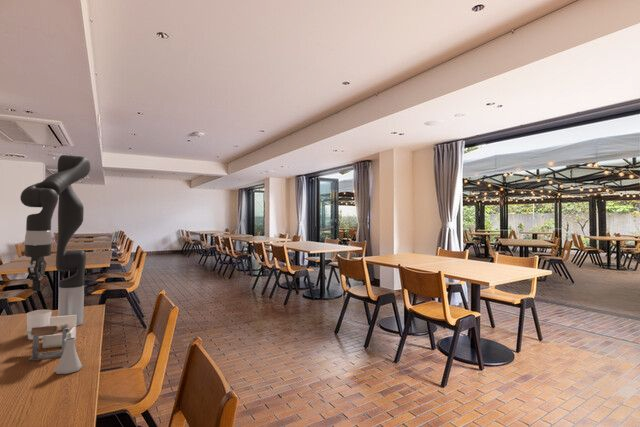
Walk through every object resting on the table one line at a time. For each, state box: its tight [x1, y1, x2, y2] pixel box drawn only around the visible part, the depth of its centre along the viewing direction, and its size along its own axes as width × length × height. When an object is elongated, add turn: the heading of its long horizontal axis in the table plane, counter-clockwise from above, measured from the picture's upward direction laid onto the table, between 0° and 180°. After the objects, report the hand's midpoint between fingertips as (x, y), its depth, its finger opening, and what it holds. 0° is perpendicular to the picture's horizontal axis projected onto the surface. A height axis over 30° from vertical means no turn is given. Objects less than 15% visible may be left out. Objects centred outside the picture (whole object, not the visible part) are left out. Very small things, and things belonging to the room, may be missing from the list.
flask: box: [54, 337, 83, 375], centre depth 112 cm, size 7×7×10 cm
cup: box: [41, 315, 77, 349], centre depth 135 cm, size 10×9×9 cm
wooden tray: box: [24, 324, 68, 337], centre depth 121 cm, size 18×12×3 cm, turn 26°
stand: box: [28, 326, 69, 362], centre depth 122 cm, size 5×11×10 cm, turn 115°
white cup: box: [26, 309, 53, 341], centre depth 140 cm, size 8×8×10 cm
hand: (36, 290), depth 127 cm, fingers closed
